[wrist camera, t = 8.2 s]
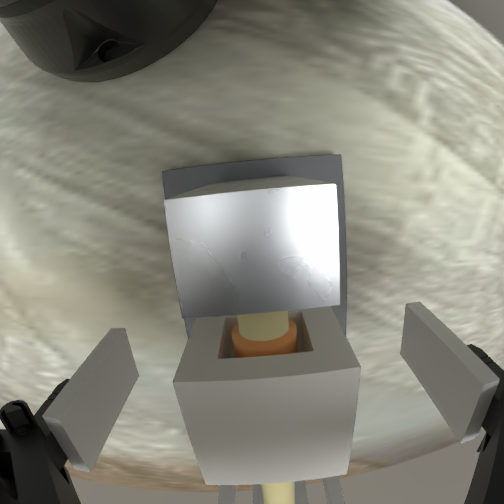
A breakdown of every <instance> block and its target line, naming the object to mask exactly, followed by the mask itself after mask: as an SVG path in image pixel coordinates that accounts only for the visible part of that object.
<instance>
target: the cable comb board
mask: <svg viewBox="0 0 504 504" xmlns="http://www.w3.org/2000/svg"><path fill="white" fill-rule="evenodd" d="M162 176H163V185H164V193H165V200H164V208H165V215H166V223H167V230H168V237H169V243H170V250H171V256H172V262H173V269H174V275H175V280H176V286H177V292H178V297H179V303H180V308H181V313H182V318H184V320H185V325H186V330H187V335H188V339H189V337H190V334H191V331H192V329H193V326H194V323H195V321H196V318H199V317H215V316H229V315H237V318H238V323H237V324H236V325H235V326H234V327H233V328H232V340H233V347H234V354H235V358H244V357H258V356H270V355H281V354H291V353H298V348H297V326H296V323H295V322H294V321H293V320H291V319H290V318H288V311H289V310H299V309H308V308H318V307H326V306H331V308H332V310H333V312H334V314H335V316H336V318H337V320H338V322H339V324H340V326H341V328H342V330H343V332H344V334H345V336H346V312H347V260H346V225H345V203H344V186H343V172H342V159H341V154H339V155H317V156H300V157H285V158H272V159H261V160H250V161H240V162H230V163H221V164H213V165H204V166H197V167H189V168H182V169H175V170H168V171H162ZM322 479H323V485H324V490H325V495H326V501H327V504H345V501H344V497H343V493H342V488H341V485H340V480H339V475H338V476H332V477H326V478H322ZM235 499H236V485H220V487H219V496H218V504H235ZM253 504H308V498H307V491H306V483H305V480H303V481H294V482H284V483H271V484H253Z"/></svg>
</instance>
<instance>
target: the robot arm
mask: <svg viewBox="0 0 504 504" xmlns="http://www.w3.org/2000/svg"><path fill="white" fill-rule="evenodd" d="M216 2H217V0H0V21H1V23H2V24H3V25H4V27H5V28H6V30H7V31H8V32H9V34H10V35H11V36H12V38H13V39H14V40H15V42H16V43H17V44H18V46H19V47H20V48H21V49H22V51H23V52H24V53H25V55H26V56H27V57H28V58H29V59H30V61H32V62H33V63H34V64H35V65H36V66H38V67H39V68H41V69H43V70H45V71H47V72H49V73H52V74H54V75H57V76H59V77H62V78H65V79H68V80H72V81H78V82H96V81H104V80H109V79H113V78H117V77H120V76H124V75H126V74H129V73H132V72H134V71H137V70H139V69H141V68H143V67H145V66H147V65H149V64H151V63H153V62H155V61H156V60H158V59H160V58H161V57H163V56H165V55H166V54H168V53H169V52H170V51H172V50H173V49H175V48H176V47H177V46H178V45H180V44H181V43H182V42H183V41H185V40H186V39H187V38H188V37H189V36H190V35H191V34H192V33H193V32H194V31H195V30H196V29H197V28H198V27H199V26H200V25H201V24H202V22H203V21H204V20H205V19H206V17H207V16H208V15H209V13H210V12H211V10H212V9H213V7H214V5H215V4H216ZM400 354H401V356H402V357H403V358H404V360H405V361H406V363H407V364H408V366H409V367H410V368H411V370H412V371H413V373H414V374H415V376H416V377H417V379H418V380H419V381H420V383H421V384H422V386H423V387H424V389H425V390H426V392H427V393H428V395H429V396H430V398H431V399H432V401H433V402H434V404H435V405H436V407H437V408H438V410H439V411H440V413H441V414H442V416H443V418H444V419H445V421H446V422H447V424H448V425H449V427H450V428H451V430H452V432H453V433H454V435H455V436H456V438H457V439H458V441H459V443H460V444H461V443H463V442H466V441H468V440H471V439H474V438H476V437H477V435H478V433H479V431H480V429H481V426H482V427H483V428H484V429H485V431H486V434H485V436H484V438H483V440H482V442H481V444H480V446H479V448H478V450H477V452H479V451H480V454H479V458H478V462H477V465H476V469H475V472H474V475H473V479H472V482H471V485H470V488H469V491H468V494H467V497H466V500H465V503H464V504H504V371H503V370H502V369H501V368H500V367H499V366H498V365H497V364H496V363H495V362H493V360H492V359H491V358H490V357H488V355H487V354H486V353H485V352H484V351H483V350H482V349H480V348H478V347H476V346H474V345H472V344H470V345H466V344H464V343H463V342H462V341H461V340H460V339H459V338H458V337H457V336H456V335H455V334H454V333H453V332H452V331H451V330H450V329H449V328H448V327H447V326H446V325H445V324H443V323H442V322H441V321H440V320H439V319H438V318H437V317H436V316H435V315H434V314H433V313H432V312H430V311H429V310H428V309H427V308H426V307H425V306H424V305H423V304H422V303H421V302H414V303H408V304H406V307H405V318H404V327H403V336H402V344H401V351H400ZM138 377H139V374H138V371H137V368H136V364H135V361H134V358H133V355H132V351H131V348H130V344H129V341H128V337H127V334H126V330H125V328H111V329H110V330H109V332H108V333H107V334H106V335H105V336H104V338H103V339H102V340H101V341H100V342H99V344H98V345H97V346H96V347H95V349H94V350H93V351H92V352H91V354H90V355H89V356H88V357H87V359H86V360H85V361H84V362H83V364H82V365H81V366H80V367H79V369H78V370H77V371H76V372H75V374H74V375H73V376H72V377H71V379H66V380H65V381H63V382H62V383H60V384H59V385H58V386H57V387H56V388H55V389H54V391H53V392H52V394H50V396H49V397H48V400H46V401H45V402H44V403H43V405H42V406H41V407H40V408H39V410H38V411H37V412H36V414H35V415H34V416H33V414H32V412H31V410H30V408H29V407H28V405H27V403H26V402H24V401H21V400H16V401H11V402H9V403H7V404H6V405H4V406H3V407H2V408H1V409H0V419H1V421H2V423H3V424H4V426H5V428H6V429H0V504H81V503H80V501H79V498H78V496H77V493H76V491H75V488H74V486H73V484H72V481H71V478H70V475H69V473H68V470H67V469H66V467H65V466H64V465H65V463H66V461H67V459H68V460H69V461H70V463H71V464H72V466H73V467H74V469H78V470H82V471H87V472H91V471H92V469H93V467H94V465H95V463H96V461H97V459H98V457H99V454H100V452H101V450H102V448H103V446H104V444H105V442H106V440H107V438H108V436H109V434H110V432H111V430H112V428H113V426H114V424H115V422H116V420H117V418H118V416H119V414H120V412H121V410H122V408H123V406H124V404H125V402H126V400H127V398H128V396H129V394H130V392H131V390H132V388H133V386H134V384H135V382H136V381H137V379H138Z"/></svg>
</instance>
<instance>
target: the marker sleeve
mask: <svg viewBox="0 0 504 504" xmlns="http://www.w3.org/2000/svg"><path fill="white" fill-rule="evenodd" d="M288 318H290V319H291V320H293V321H294V322H295V323H296V326H297V348H298V353H291V354H281V355H270V356H258V357H244V358H235V354H234V347H233V340H232V328H233V327H234V326H235V325H236V324H237V323H238V318H237V315H229V316H215V317H199V318H196V321H195V323H194V326H193V329H192V331H191V334H190V337H189V339H188V342H187V345H186V347H185V350H184V353H183V355H182V358H181V361H180V363H179V366H178V369H177V371H176V374H175V377H174V380H173V385H174V388H175V392H176V395H177V399H178V402H179V406H180V409H181V412H182V416H183V419H184V422H185V425H186V428H187V432H188V435H189V438H190V441H191V444H192V447H193V450H194V453H195V456H196V459H197V461H198V464H199V467H200V470H201V473H202V475H203V478H204V481H205V483H206V485H252V484H271V483H284V482H294V481H303V480H312V479H319V478H326V477H332V476H338V475H344V474H347V469H348V463H349V458H350V451H351V445H352V439H353V432H354V424H355V417H356V409H357V400H358V391H359V381H360V370H361V366H360V364H359V362H358V360H357V358H356V356H355V354H354V352H353V350H352V348H351V346H350V344H349V342H348V340H347V338H346V336H345V334H344V332H343V330H342V328H341V326H340V324H339V322H338V320H337V318H336V316H335V314H334V312H333V310H332V308H331V306H326V307H318V308H308V309H299V310H289V311H288Z"/></svg>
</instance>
